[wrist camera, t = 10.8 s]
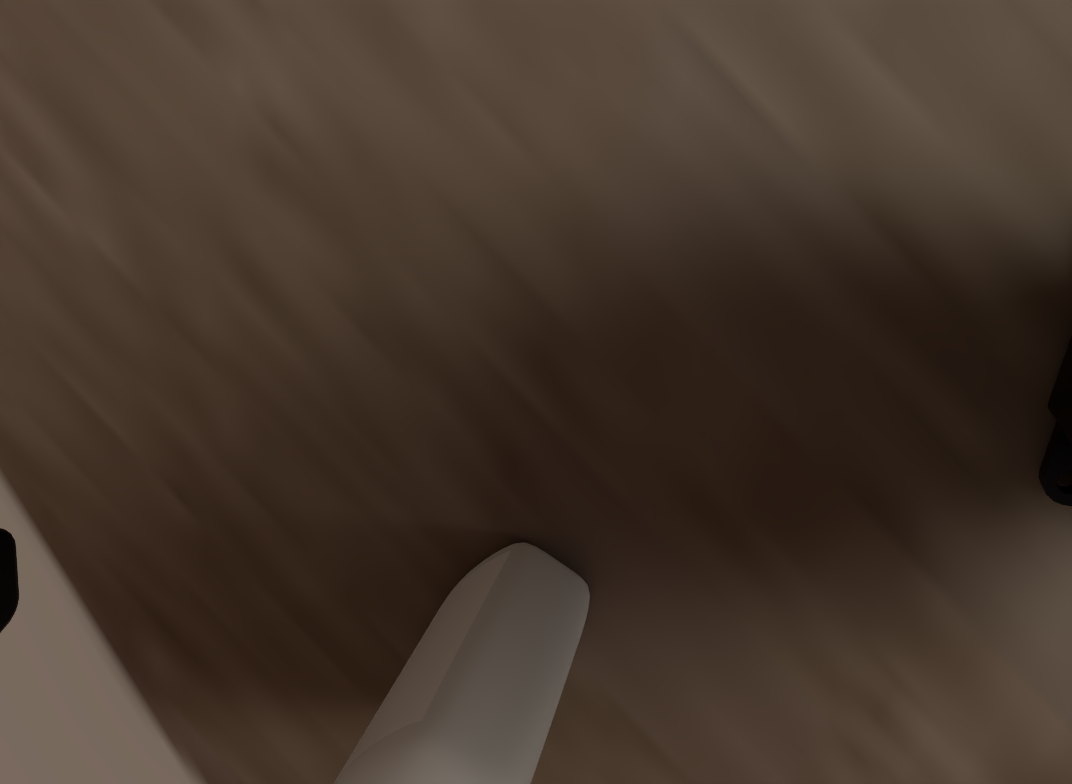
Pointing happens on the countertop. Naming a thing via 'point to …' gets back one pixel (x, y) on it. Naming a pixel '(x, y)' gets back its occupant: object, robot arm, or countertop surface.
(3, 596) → the robot arm
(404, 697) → the eye dropper bottle
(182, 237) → the countertop surface
